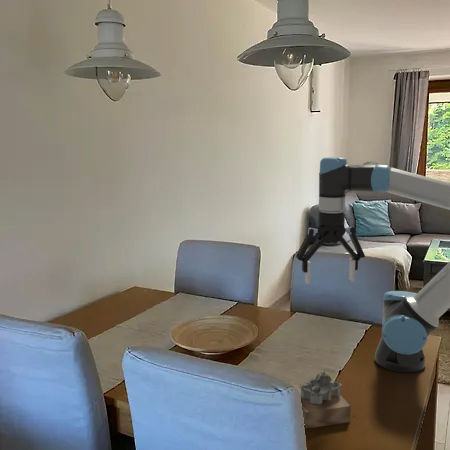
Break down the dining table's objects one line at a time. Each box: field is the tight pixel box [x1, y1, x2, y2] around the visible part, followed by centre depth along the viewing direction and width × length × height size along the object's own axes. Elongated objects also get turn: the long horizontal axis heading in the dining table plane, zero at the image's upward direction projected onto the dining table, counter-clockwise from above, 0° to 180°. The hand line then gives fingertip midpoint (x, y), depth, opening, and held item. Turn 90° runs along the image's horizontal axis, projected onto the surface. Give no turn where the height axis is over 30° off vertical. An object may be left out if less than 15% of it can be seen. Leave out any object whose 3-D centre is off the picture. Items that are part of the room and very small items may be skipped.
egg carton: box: [298, 371, 343, 405], centre depth 133 cm, size 11×8×4 cm
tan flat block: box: [292, 382, 351, 430], centre depth 134 cm, size 12×14×5 cm
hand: (329, 281), depth 151 cm, fingers open, 13 cm apart
